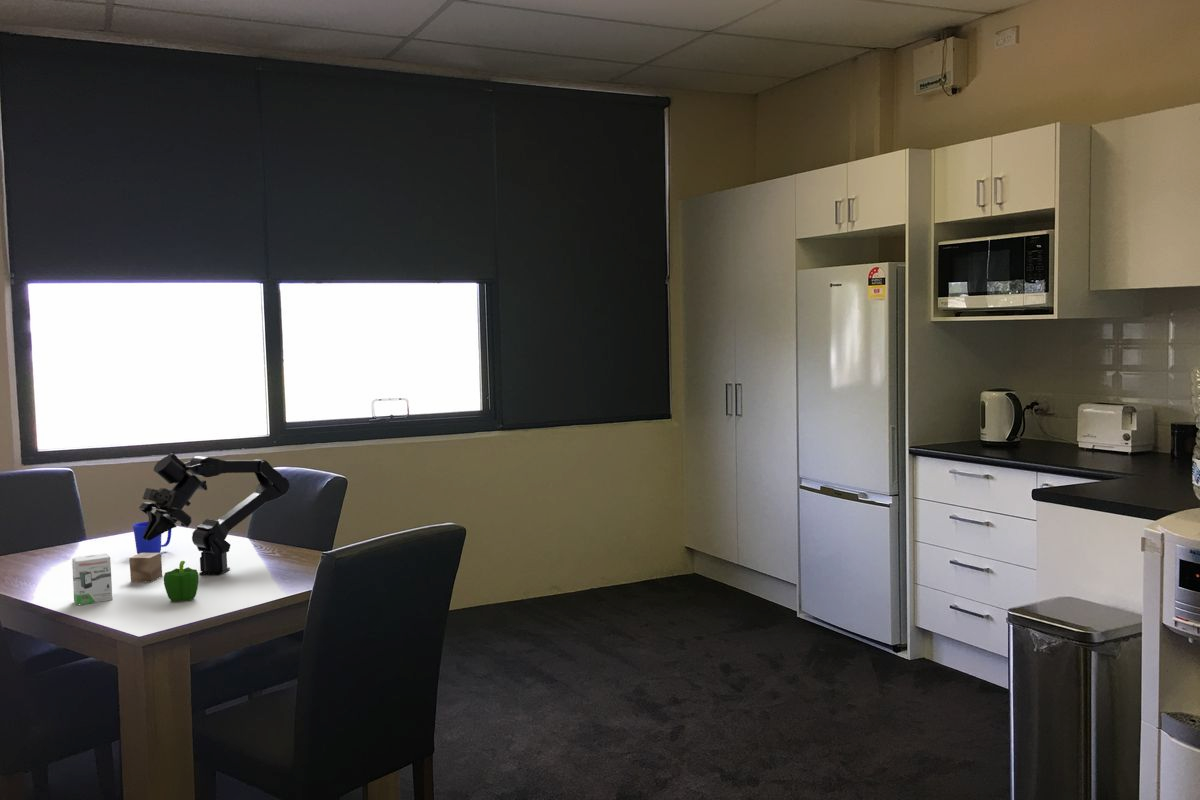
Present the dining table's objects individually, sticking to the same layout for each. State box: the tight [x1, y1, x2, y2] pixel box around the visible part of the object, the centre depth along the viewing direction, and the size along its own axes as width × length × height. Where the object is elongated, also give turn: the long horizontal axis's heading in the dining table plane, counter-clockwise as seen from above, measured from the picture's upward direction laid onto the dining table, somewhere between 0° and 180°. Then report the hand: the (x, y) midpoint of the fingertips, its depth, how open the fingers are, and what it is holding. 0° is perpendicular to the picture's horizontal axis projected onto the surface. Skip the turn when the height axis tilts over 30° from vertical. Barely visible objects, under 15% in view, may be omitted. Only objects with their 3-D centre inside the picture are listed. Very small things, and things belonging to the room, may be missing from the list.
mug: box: [132, 521, 172, 555], centre depth 307 cm, size 8×12×10 cm
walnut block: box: [129, 552, 163, 583], centre depth 276 cm, size 6×6×7 cm
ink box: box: [71, 553, 113, 606], centre depth 254 cm, size 9×5×12 cm, turn 126°
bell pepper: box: [163, 560, 199, 603], centre depth 254 cm, size 8×8×10 cm
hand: (145, 539), depth 265 cm, fingers closed
